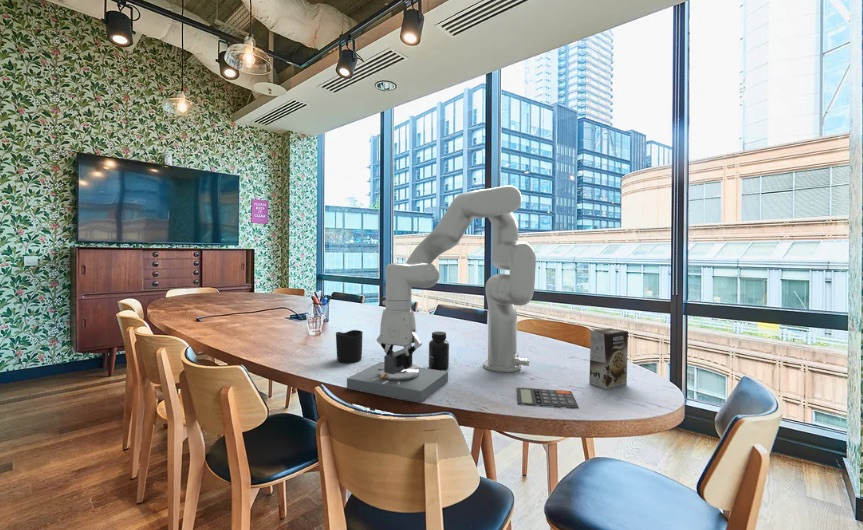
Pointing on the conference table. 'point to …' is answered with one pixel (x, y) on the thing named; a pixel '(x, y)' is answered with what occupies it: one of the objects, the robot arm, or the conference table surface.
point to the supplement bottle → (438, 351)
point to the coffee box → (608, 358)
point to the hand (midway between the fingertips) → (398, 366)
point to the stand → (398, 383)
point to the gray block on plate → (397, 368)
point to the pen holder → (349, 346)
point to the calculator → (546, 397)
